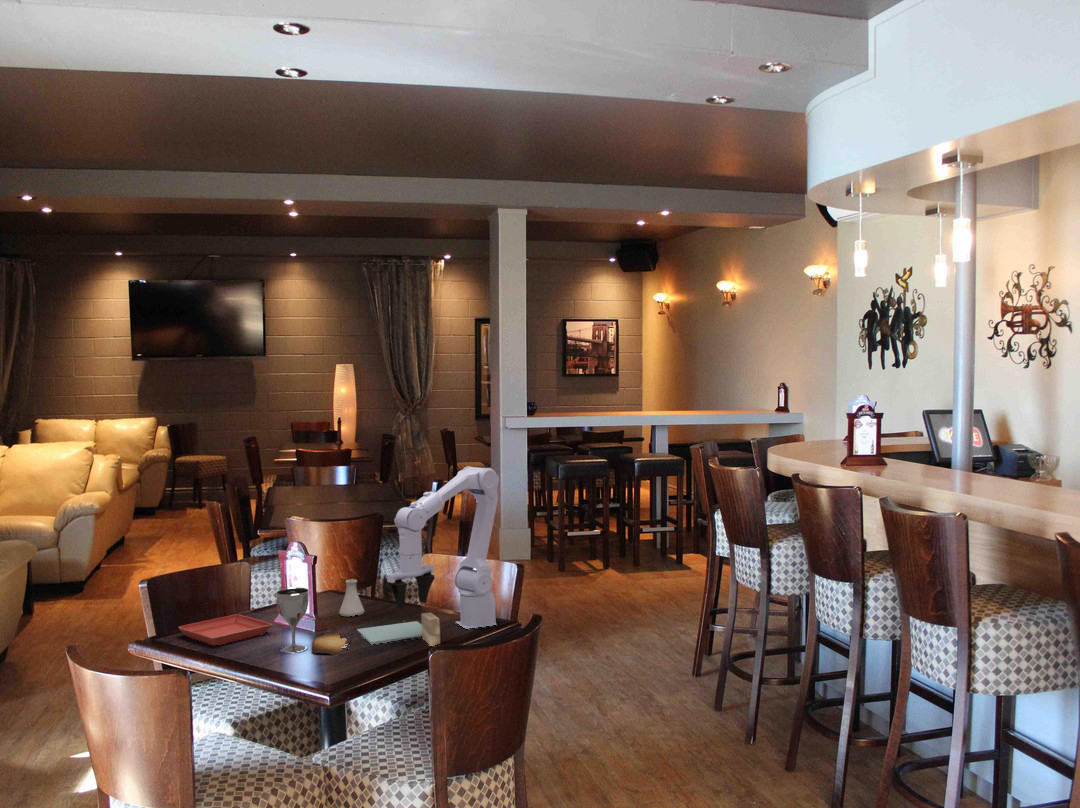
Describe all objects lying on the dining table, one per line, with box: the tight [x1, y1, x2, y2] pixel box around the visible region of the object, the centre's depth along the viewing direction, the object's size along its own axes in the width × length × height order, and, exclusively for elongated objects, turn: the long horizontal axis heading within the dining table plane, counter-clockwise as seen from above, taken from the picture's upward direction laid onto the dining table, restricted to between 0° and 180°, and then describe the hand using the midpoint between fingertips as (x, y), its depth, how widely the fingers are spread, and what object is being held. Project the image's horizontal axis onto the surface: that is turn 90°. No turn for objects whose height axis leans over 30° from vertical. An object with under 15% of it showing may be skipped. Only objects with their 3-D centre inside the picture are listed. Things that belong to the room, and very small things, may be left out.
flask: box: [338, 579, 366, 617], centre depth 262 cm, size 7×7×10 cm
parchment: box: [311, 627, 356, 656], centre depth 233 cm, size 25×10×1 cm, turn 6°
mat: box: [356, 620, 422, 646], centre depth 240 cm, size 17×14×1 cm
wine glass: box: [275, 587, 310, 652], centre depth 227 cm, size 8×8×15 cm
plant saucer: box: [178, 614, 273, 646], centre depth 240 cm, size 18×18×3 cm
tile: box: [420, 611, 441, 647], centre depth 231 cm, size 3×7×7 cm, turn 26°
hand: (411, 605), depth 233 cm, fingers open, 7 cm apart
